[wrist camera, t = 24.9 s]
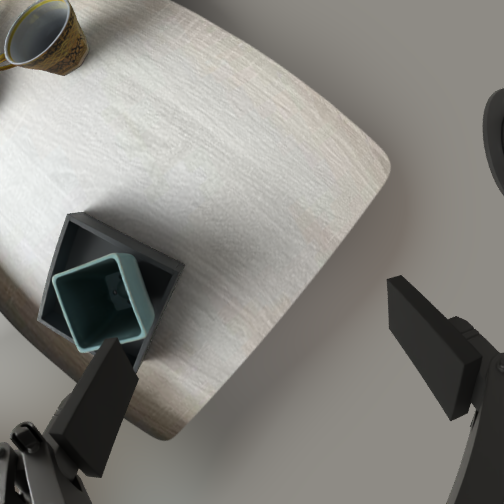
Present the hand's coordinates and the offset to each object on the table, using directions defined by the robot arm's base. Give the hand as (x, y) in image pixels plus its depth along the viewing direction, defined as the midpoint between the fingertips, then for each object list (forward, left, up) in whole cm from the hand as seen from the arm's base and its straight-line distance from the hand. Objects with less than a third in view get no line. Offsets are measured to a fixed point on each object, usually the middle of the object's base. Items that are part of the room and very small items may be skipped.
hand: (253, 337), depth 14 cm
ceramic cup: (+35, -13, -25) cm, 45 cm away
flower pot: (+11, +11, -24) cm, 28 cm away
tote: (+13, +12, -25) cm, 31 cm away
